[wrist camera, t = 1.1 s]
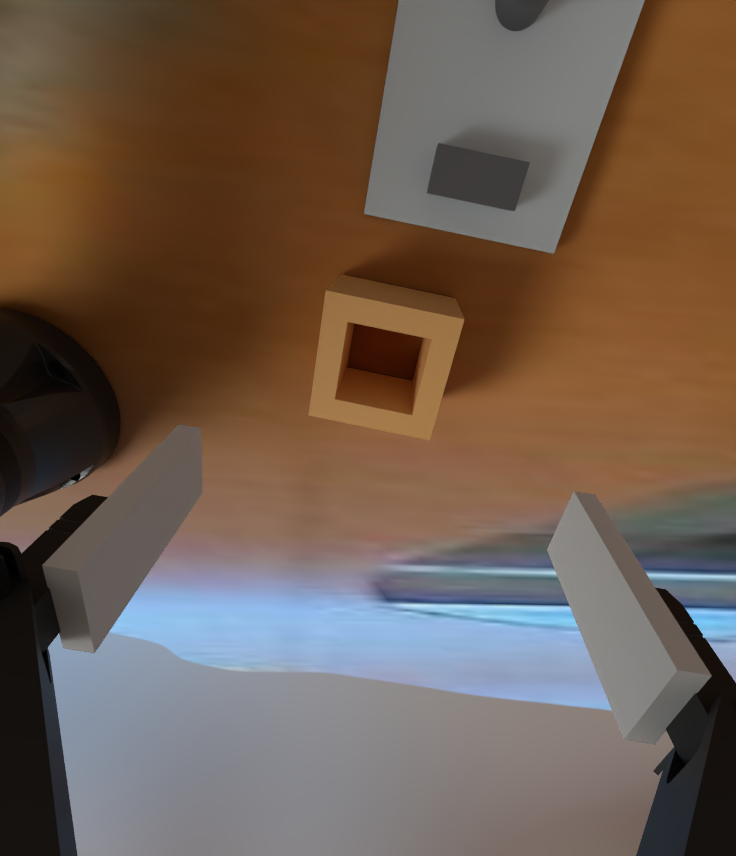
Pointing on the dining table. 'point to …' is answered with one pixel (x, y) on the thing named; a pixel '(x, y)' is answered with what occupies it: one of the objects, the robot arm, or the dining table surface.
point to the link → (375, 393)
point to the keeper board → (494, 113)
